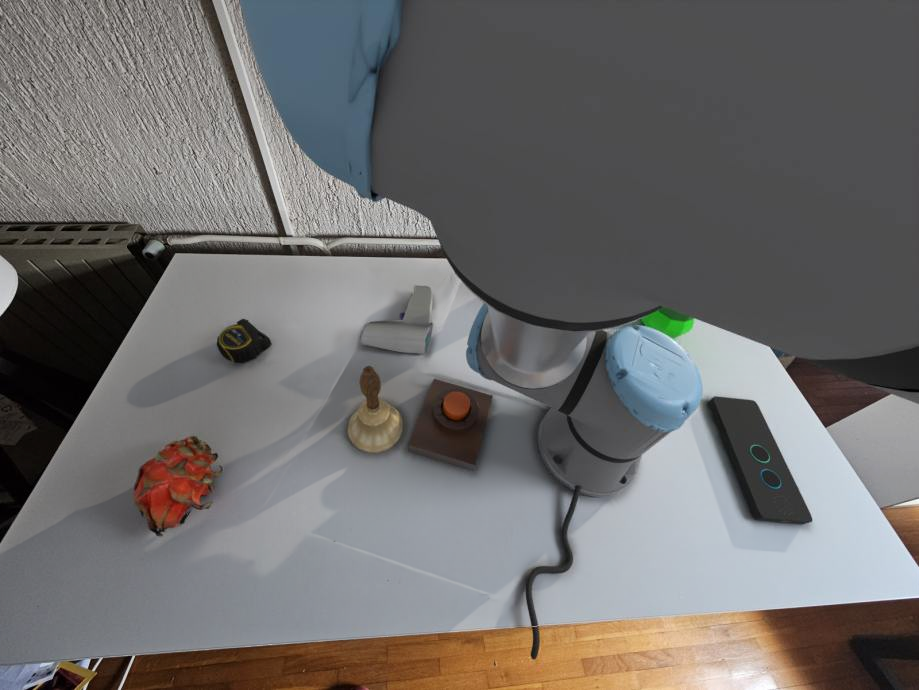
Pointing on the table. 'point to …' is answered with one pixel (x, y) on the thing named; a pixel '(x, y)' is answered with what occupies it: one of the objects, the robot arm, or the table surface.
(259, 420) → the table surface
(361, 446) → the hand bell
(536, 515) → the table surface
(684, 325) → the plastic bottle
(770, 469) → the smart home device
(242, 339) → the tape measure
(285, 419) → the table surface
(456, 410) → the button
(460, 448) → the control block
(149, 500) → the dragon fruit
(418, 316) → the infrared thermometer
